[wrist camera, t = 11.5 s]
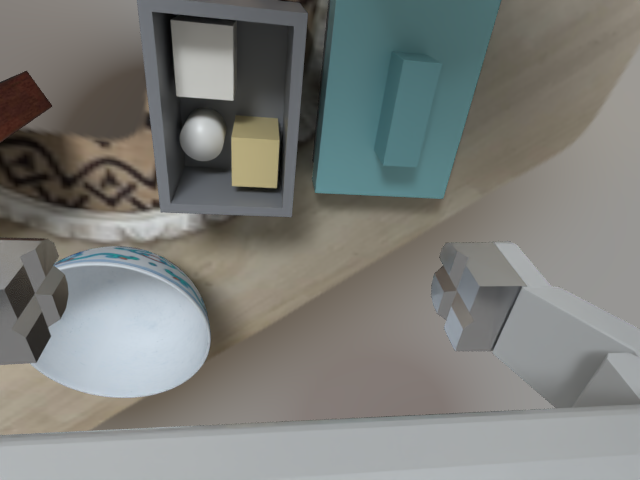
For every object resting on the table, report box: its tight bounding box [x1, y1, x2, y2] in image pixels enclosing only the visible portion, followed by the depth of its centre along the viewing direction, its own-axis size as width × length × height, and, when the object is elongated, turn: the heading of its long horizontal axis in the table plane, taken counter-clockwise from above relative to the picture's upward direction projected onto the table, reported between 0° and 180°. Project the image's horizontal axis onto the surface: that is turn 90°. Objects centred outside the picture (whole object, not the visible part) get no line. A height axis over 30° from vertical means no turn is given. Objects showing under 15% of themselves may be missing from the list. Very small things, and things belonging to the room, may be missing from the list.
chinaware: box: [30, 246, 211, 398], centre depth 37 cm, size 15×15×8 cm
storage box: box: [137, 0, 308, 217], centre depth 29 cm, size 13×9×7 cm
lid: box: [312, 0, 501, 199], centre depth 31 cm, size 15×11×6 cm
